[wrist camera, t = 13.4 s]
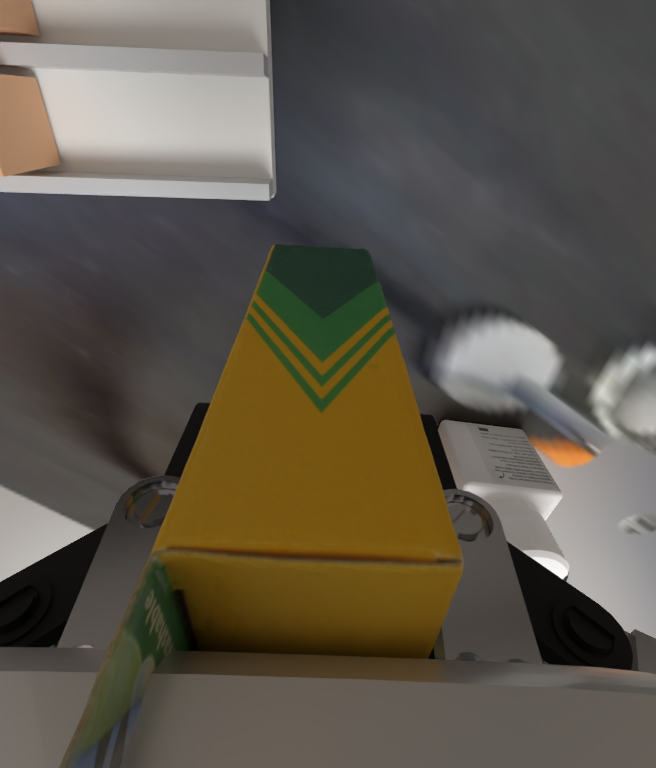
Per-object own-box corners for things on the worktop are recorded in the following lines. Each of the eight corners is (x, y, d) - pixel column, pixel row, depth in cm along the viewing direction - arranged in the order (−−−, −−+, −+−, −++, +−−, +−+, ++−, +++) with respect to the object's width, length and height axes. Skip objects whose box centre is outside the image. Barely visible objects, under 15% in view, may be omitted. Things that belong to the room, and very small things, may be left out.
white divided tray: (261, -232, 17) (247, -316, 13) (276, 192, 25) (269, 204, 22) (-146, -259, 16) (-265, -353, 13) (13, 183, 25) (-34, 194, 22)
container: (490, 486, 41) (551, 622, 30) (416, 478, 40) (450, 615, 29) (523, 427, 37) (608, 561, 26) (441, 417, 36) (492, 550, 25)
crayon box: (353, 441, 16) (386, 978, 6) (274, 437, 16) (179, 974, 6) (377, 246, 12) (605, 949, 2) (271, 240, 11) (-55, 937, 2)
